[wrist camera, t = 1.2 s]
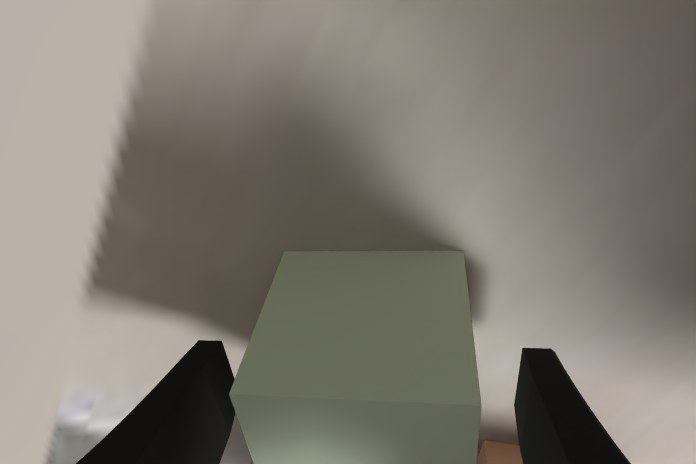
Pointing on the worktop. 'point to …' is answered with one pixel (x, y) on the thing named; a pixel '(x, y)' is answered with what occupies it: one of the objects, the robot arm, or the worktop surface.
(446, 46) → the worktop surface
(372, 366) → the sage block
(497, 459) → the terracotta block
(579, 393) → the robot arm
